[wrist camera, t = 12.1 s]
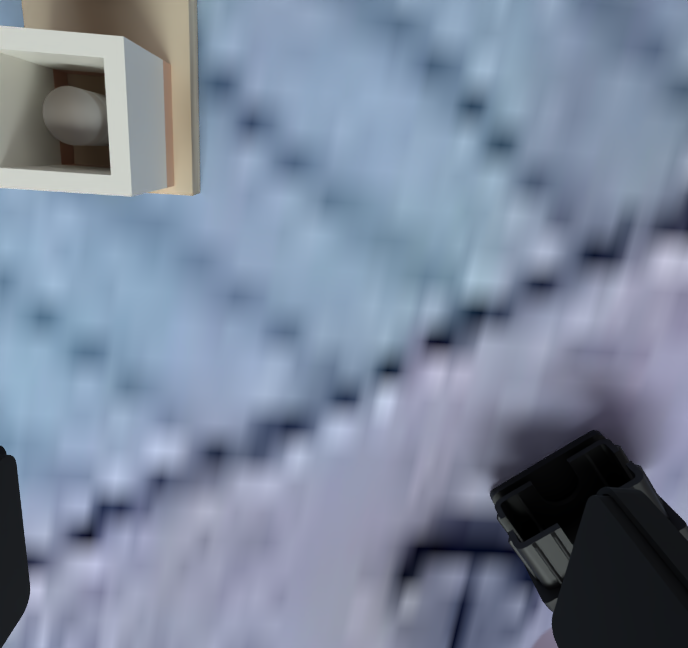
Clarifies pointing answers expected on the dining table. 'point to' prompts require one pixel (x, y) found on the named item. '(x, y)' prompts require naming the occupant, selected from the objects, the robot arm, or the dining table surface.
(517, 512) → the end cap
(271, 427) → the dining table surface
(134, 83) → the sleeve
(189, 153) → the pin board
